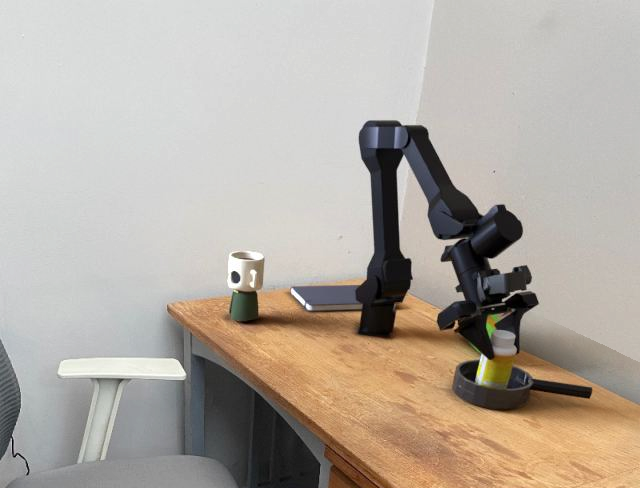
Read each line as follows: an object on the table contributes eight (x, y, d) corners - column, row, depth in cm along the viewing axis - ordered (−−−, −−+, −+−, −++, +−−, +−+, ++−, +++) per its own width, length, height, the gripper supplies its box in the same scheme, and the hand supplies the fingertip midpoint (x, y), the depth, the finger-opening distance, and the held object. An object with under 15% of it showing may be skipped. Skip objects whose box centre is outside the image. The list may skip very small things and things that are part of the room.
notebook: (375, 290, 184) (289, 293, 178) (376, 284, 183) (290, 286, 177) (397, 308, 174) (308, 311, 168) (398, 301, 173) (308, 304, 167)
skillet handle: (529, 391, 134) (532, 380, 133) (528, 387, 136) (531, 376, 135) (589, 400, 133) (592, 389, 132) (588, 396, 134) (591, 385, 133)
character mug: (218, 311, 165) (220, 248, 158) (249, 309, 167) (253, 247, 160) (236, 329, 156) (240, 264, 149) (269, 326, 159) (274, 262, 152)
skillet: (450, 403, 133) (455, 383, 131) (452, 374, 144) (456, 355, 142) (529, 415, 131) (535, 395, 129) (525, 385, 142) (531, 366, 140)
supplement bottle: (512, 394, 136) (527, 339, 130) (485, 397, 134) (499, 341, 128) (493, 381, 140) (507, 327, 134) (467, 384, 138) (480, 328, 133)
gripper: (463, 252, 122) (497, 344, 121) (546, 243, 131) (578, 329, 129) (421, 286, 132) (452, 371, 131) (500, 276, 141) (530, 356, 139)
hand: (504, 356), depth 132 cm, fingers closed on supplement bottle, 5 cm apart
